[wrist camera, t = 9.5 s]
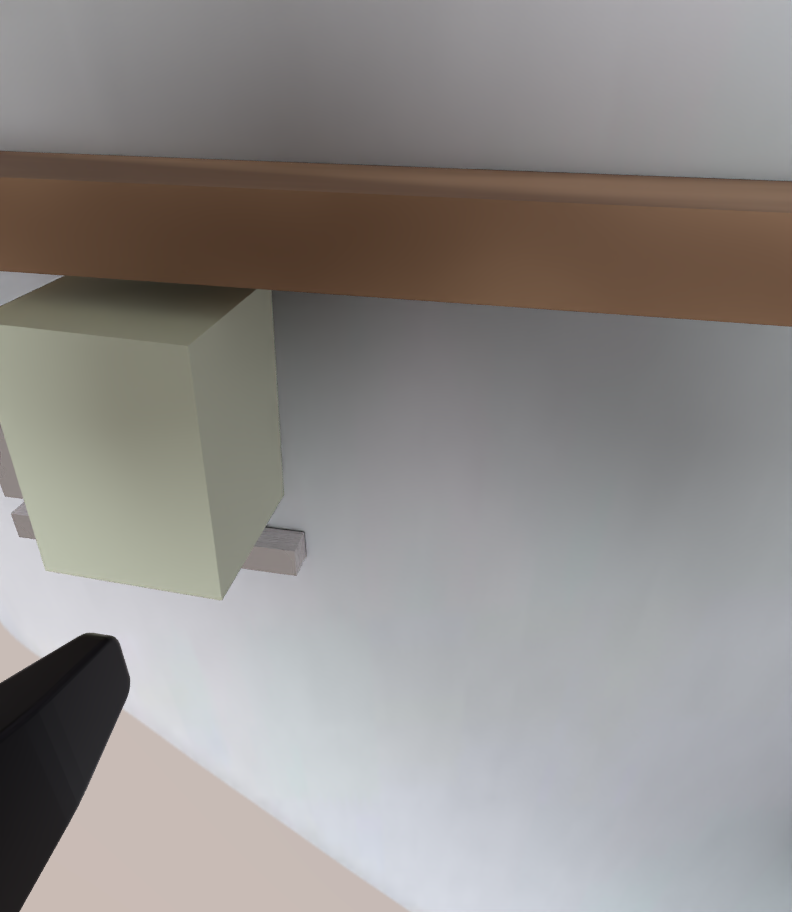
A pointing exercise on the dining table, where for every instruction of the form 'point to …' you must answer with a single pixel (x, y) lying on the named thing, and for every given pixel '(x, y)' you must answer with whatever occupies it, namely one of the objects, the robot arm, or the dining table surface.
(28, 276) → the dining table surface
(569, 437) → the dining table surface
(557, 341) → the dining table surface
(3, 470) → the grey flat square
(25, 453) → the pale green block
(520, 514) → the dining table surface
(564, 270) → the long brown board
